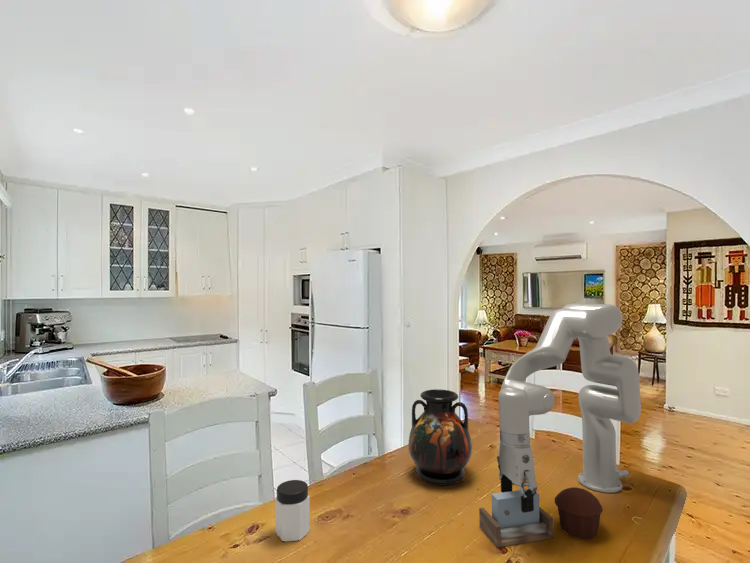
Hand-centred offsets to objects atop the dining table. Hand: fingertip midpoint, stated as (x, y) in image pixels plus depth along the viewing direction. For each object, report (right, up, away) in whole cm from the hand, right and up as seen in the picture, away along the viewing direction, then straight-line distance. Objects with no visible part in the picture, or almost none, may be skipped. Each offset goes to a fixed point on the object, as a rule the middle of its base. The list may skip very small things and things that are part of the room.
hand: (516, 501), depth 107 cm
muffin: (+17, -8, +1) cm, 18 cm away
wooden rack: (0, -8, -1) cm, 8 cm away
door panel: (0, -7, -1) cm, 7 cm away
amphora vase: (-15, -9, +32) cm, 37 cm away
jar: (-59, -9, 0) cm, 60 cm away
